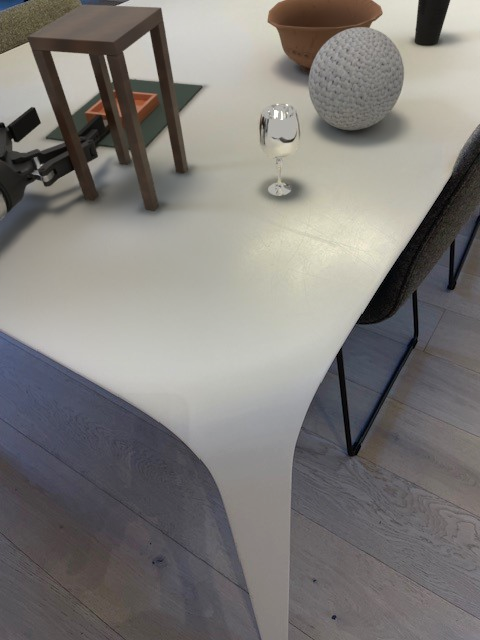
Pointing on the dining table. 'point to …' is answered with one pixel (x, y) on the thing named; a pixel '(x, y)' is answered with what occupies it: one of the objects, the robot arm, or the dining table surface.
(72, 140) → the stand
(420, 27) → the drinking cup
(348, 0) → the bowl
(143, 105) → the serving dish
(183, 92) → the place mat
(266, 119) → the wineglass
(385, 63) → the decorative ball
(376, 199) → the dining table surface
